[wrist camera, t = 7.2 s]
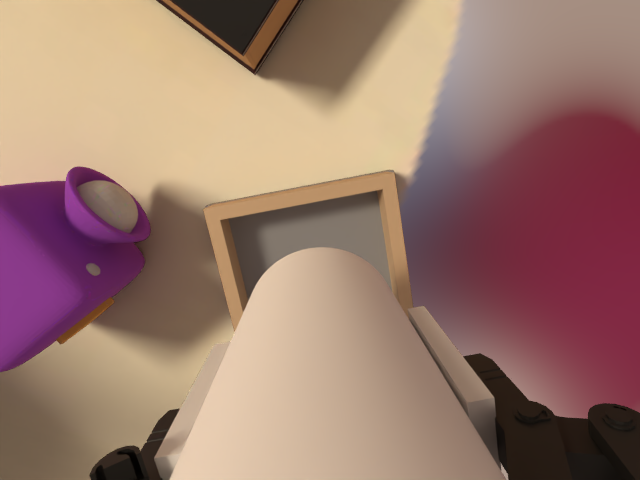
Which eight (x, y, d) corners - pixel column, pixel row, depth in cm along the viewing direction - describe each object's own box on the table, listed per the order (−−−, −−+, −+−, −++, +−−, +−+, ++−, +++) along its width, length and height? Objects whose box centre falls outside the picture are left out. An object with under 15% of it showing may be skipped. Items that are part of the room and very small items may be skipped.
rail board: (271, 447, 36) (267, 482, 32) (210, 203, 30) (196, 210, 27) (424, 419, 36) (439, 451, 32) (389, 169, 30) (401, 171, 26)
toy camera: (192, 218, 31) (138, 245, 21) (99, 334, 33) (11, 409, 23) (80, 130, 29) (-35, 116, 19) (-11, 258, 31) (-157, 305, 21)
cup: (225, 353, 21) (-30, 931, 5) (282, 222, 19) (162, 489, 4) (356, 404, 22) (471, 1026, 6) (420, 282, 20) (792, 702, 5)
